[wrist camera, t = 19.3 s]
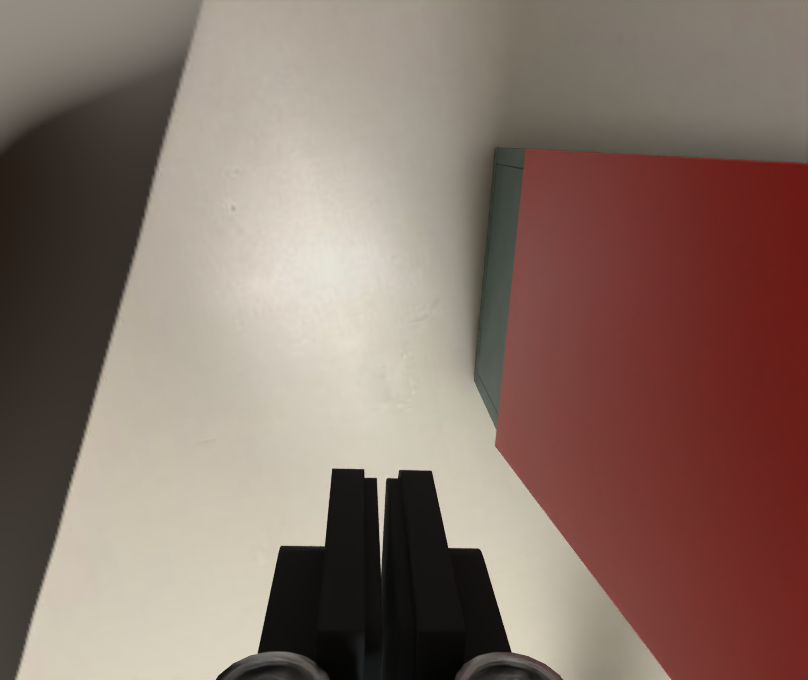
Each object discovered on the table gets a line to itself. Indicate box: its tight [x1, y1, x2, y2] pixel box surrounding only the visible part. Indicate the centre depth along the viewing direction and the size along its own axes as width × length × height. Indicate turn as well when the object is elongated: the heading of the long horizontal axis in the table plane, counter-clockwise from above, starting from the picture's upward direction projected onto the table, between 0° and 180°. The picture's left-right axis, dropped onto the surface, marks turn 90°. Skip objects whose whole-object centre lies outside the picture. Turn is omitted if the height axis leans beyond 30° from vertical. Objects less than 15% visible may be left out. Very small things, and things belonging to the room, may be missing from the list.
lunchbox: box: [474, 147, 526, 430], centre depth 33 cm, size 18×13×8 cm
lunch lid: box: [495, 149, 808, 680], centre depth 19 cm, size 18×13×1 cm
